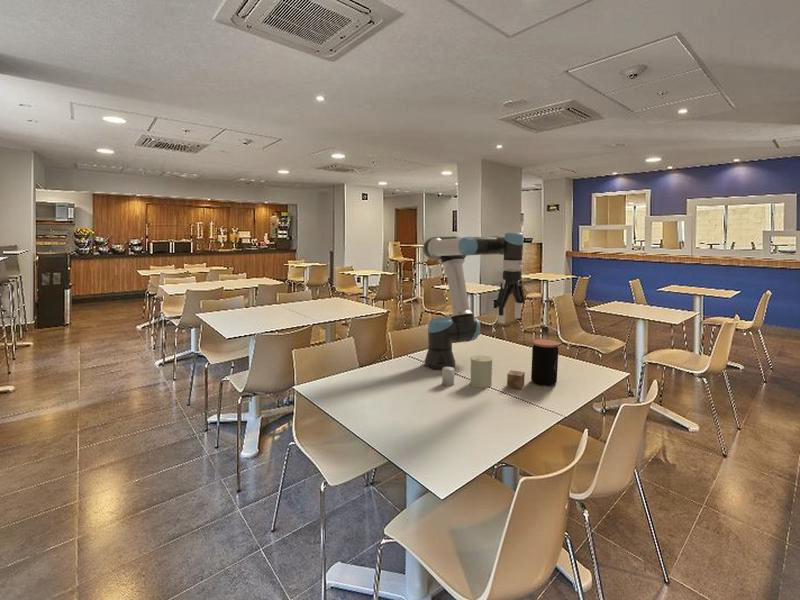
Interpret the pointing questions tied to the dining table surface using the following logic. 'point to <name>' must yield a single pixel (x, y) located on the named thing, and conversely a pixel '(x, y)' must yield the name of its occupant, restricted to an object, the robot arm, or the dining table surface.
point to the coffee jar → (544, 362)
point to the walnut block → (515, 379)
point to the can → (481, 371)
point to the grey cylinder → (448, 376)
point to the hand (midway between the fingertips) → (509, 320)
